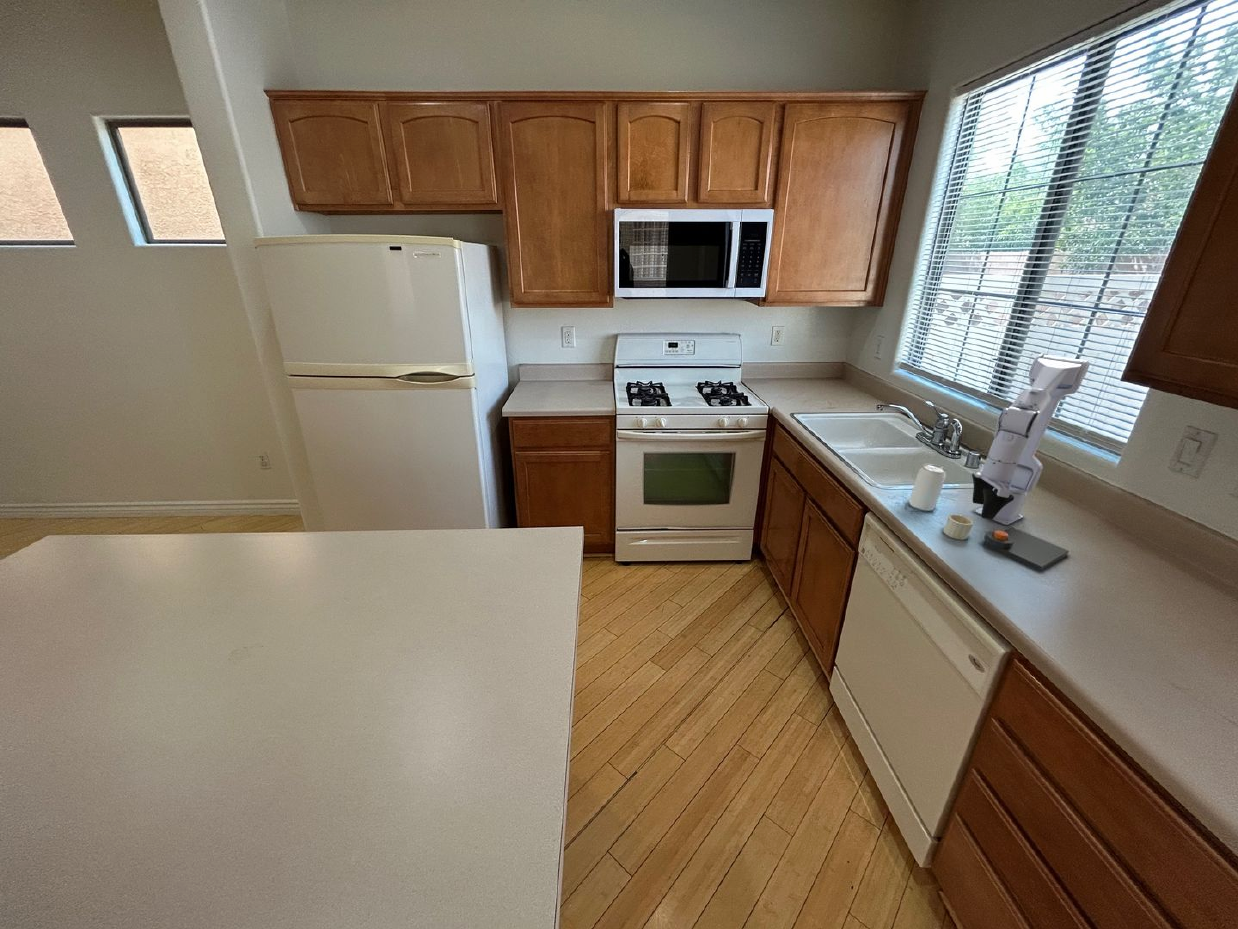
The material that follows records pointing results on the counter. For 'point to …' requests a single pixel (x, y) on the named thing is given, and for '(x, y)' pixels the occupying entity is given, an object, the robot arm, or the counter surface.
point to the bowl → (958, 526)
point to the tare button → (1000, 535)
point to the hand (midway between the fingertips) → (982, 510)
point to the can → (927, 487)
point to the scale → (1025, 548)
